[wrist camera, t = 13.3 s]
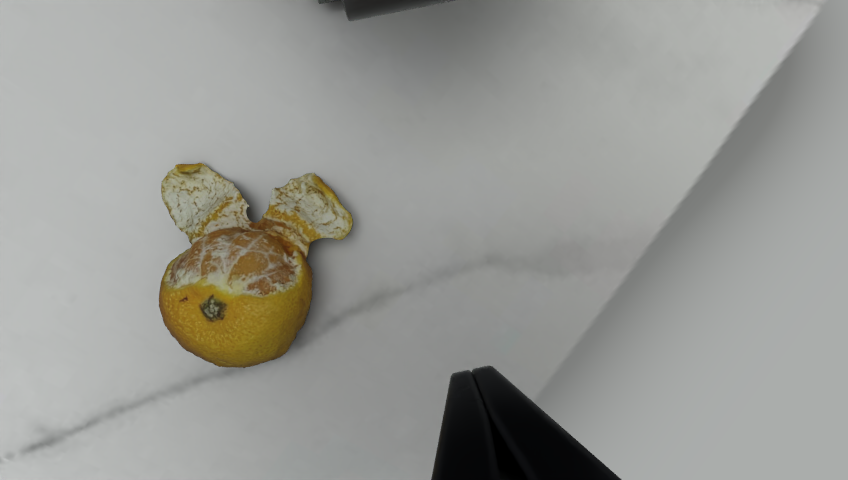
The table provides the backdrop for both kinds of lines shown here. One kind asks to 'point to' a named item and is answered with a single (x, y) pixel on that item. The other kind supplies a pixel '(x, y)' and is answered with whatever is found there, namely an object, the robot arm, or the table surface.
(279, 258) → the fruit
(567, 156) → the table surface
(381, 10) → the drawer
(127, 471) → the table surface
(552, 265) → the table surface
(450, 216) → the table surface
